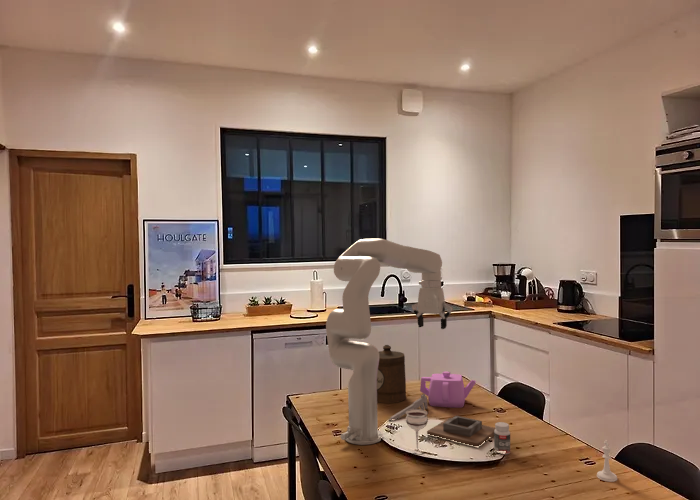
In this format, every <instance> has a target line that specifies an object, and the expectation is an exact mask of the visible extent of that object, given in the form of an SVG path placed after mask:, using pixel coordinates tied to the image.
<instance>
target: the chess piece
mask: <svg viewBox="0 0 700 500" xmlns="http://www.w3.org/2000/svg"><path fill="white" fill-rule="evenodd" d="M603 444H605V445H604V446H602V447H601V448H602V451H603V455H602V458H603V459H604V461H603V463H604V464H603V469H601V470H599V471H597V473H596V477H597V478H598V479H600V480H601V481H604V482H611V483H613V482H617V481H618V476H617V474H615V473H614V472H613V471H611V467H610V466H611V465H610V459H612V456H611V455H610V453H611V451H612V449H611V447H610V444H609V440H608V439H605V440H604V441H603Z"/></svg>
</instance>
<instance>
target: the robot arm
mask: <svg viewBox="0 0 700 500" xmlns="http://www.w3.org/2000/svg"><path fill="white" fill-rule="evenodd" d="M381 265H385V266H387V267H391V268H397V269H402V270H407V271H408V272H410V273H414V274H421V281H420V280H419V281H418V284H419V286H421V287H419V291H418V296H417V297H418V298H417V302H416V303H414V304H411V309H412V310H413V314H415V315H416V317H417V325H418V328H422V327H424V316H423V315H424V314H429V315H439V316H440V317H441V319H440V329H441V330H445V329H446V328H447V325H448V324H447V323H448V322H447V319H448V317H450V315H451V314H452V312H453V309H454V308H453V307H452V306H450V305H449V304H448V303H446V299H445V294H444V289H443V288H442V274H441V273H442V272H441V270H442V267H443V259H442V258H441V255H440V254H439V253H437V252H434V251H431V250H427V249H423V248H416V247H412V246H408V245H403V244H399V243H396V242H394V241H392V240H391V241H390V240H387V239H384V238H363V239H362V238H361V239H358V240H357V241H356V242H354V243H352V244H351V246H350V247H348V248H347V249H345V251H344V252H343V253H342V254H341V255H339V256H338V258H337V259H336V260H335V262H334V265H333V274H334V276H335V277H336V278H337V279H338V280H339V281H341V282H348V283H347V285H345V288H344V289H343V292H342V299H341V300H342V308H335V309H333V310H332V311H330V313H329V314H328V316H327V318H326V323H325V331H326V332H325V333H326V339H327V340H326V341H327V347H328V354H329V358H330V361H331V363H332V364H333V365H334V366H335V367H337V368H339V369H345V370H350V371H353V372H352V375H351V376H350V377H349V380H348V385H347V394H348V395H347V397H348V399H347V401H348V402H347V403H348V426H347V427H346V428H347V429H346V431H345V432H343V433H341V434H340V439H341V440H342V441H346V442H348V443H350V444H353V445H359V446H367V445H373V444H376V443H379V442H380V441H382V440H381V437H382V436H383V433H382V431H381V430H378V429H379V428H378V425H379V423H378V422H379V421H378V402H377V371H378V365H379V350H378V348H377V347H376V346H375V345H374V344H372V343H368V342H365V341H364V342H363V341H359V340H365V339H367V338H369V336H370V335H371V333H372V322H371V321H372V320H371V312H370V304H369V303H370V302H369V301H370V300H369V295H370V291H371V288H372V286H373V284H374V282H375V281H376V280H377V279H378V276H379V275H380V271H381ZM446 310H447V312H446ZM356 340H358V341H356ZM382 438H383V437H382Z"/></svg>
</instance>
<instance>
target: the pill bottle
mask: <svg viewBox="0 0 700 500" xmlns="http://www.w3.org/2000/svg"><path fill="white" fill-rule="evenodd" d="M494 427H495V430H494V436H493V445H494V446H493V450H494V449H495V450H497V451H506V454H505V455H509V454H510V453H511V431H510V424H509V423H507V422H504V421H499V422H496V423H494ZM495 450H494V451H495Z"/></svg>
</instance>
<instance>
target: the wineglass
mask: <svg viewBox="0 0 700 500" xmlns="http://www.w3.org/2000/svg"><path fill="white" fill-rule="evenodd" d="M427 415H428V411H426V409H424V410H421V408H417V409H411V410H408V411H406V414H405V423H406V425H407V426H408V427H409V428H410V429H412V430H414V431H415V439H416V440H415V441H416V443H415V444H416V448H417V450H419V449H418V448H419V432H420V431H421V430H423V429H424V428H425V427H426V426H427V424H428V422H429V419H428V416H427Z"/></svg>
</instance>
